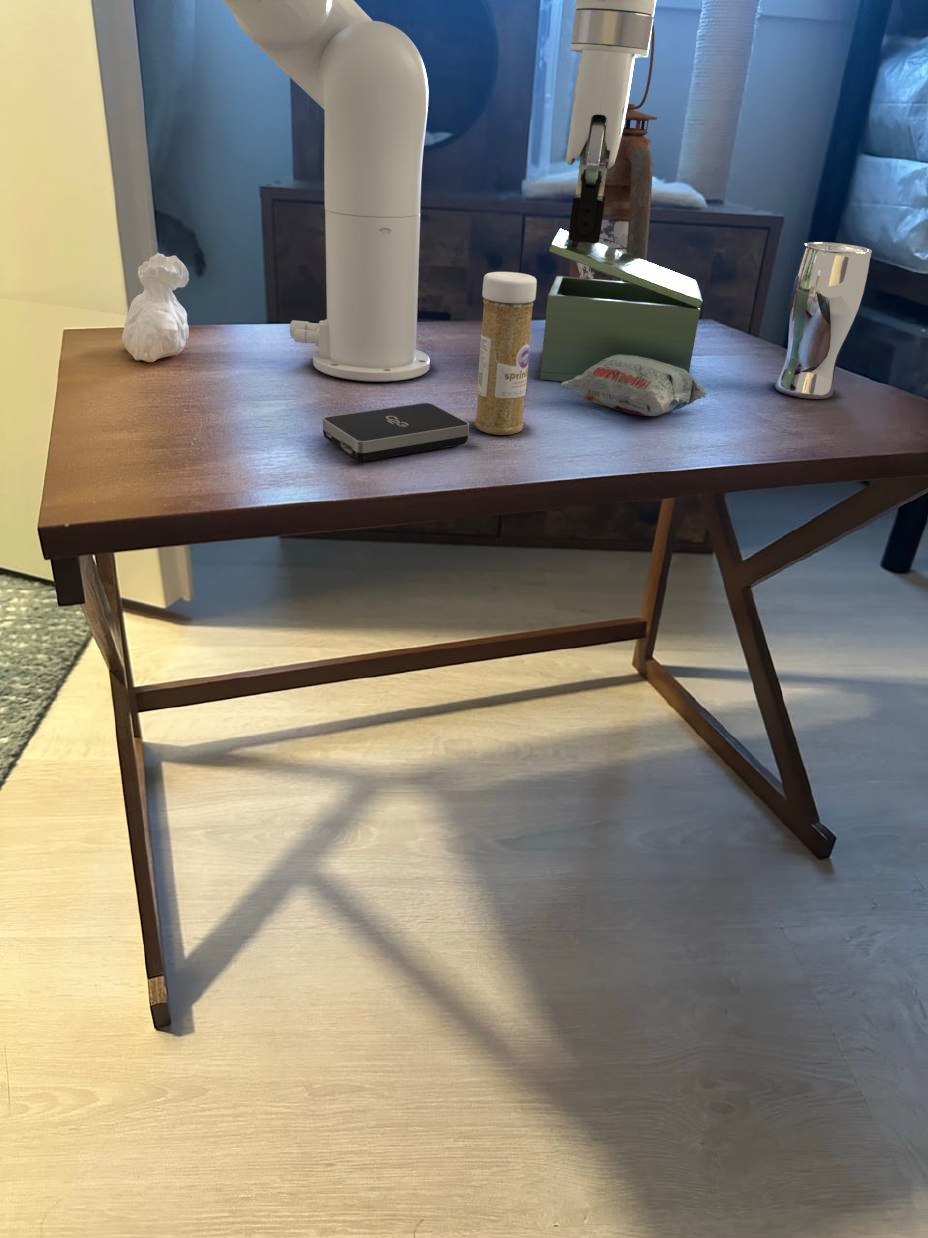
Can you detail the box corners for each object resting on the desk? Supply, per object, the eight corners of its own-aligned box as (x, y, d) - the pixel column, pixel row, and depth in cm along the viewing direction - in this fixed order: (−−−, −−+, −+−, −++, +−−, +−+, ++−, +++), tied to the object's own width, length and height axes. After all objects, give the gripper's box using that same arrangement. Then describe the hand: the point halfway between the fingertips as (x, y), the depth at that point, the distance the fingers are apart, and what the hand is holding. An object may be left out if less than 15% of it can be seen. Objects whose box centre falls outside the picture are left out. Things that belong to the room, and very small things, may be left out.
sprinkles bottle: (516, 439, 83) (530, 282, 76) (467, 431, 84) (477, 275, 77) (528, 424, 86) (542, 273, 80) (481, 417, 87) (492, 267, 81)
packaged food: (660, 433, 86) (669, 380, 84) (557, 403, 93) (563, 353, 90) (704, 416, 92) (714, 366, 90) (604, 389, 99) (611, 342, 96)
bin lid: (548, 251, 94) (566, 200, 91) (557, 235, 104) (573, 189, 102) (699, 308, 94) (721, 259, 92) (693, 287, 104) (712, 242, 102)
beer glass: (846, 393, 103) (885, 249, 95) (819, 404, 98) (857, 254, 91) (788, 378, 107) (820, 239, 99) (759, 389, 102) (791, 244, 94)
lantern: (588, 352, 112) (632, 6, 94) (532, 321, 125) (561, 12, 107) (666, 349, 115) (722, 16, 98) (603, 319, 128) (643, 20, 111)
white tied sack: (173, 389, 96) (233, 299, 95) (106, 348, 92) (168, 251, 90) (153, 360, 106) (208, 277, 104) (92, 320, 101) (148, 232, 99)
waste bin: (539, 379, 100) (548, 295, 96) (548, 352, 111) (556, 275, 106) (685, 394, 99) (700, 309, 94) (680, 365, 109) (694, 287, 104)
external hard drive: (320, 440, 80) (320, 417, 78) (429, 423, 85) (430, 401, 84) (359, 466, 75) (359, 442, 74) (471, 446, 80) (473, 424, 79)
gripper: (576, 38, 97) (554, 225, 106) (567, 27, 82) (543, 245, 91) (648, 44, 96) (620, 231, 105) (652, 34, 81) (619, 253, 90)
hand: (584, 235), depth 98 cm, fingers closed on bin lid, 5 cm apart
